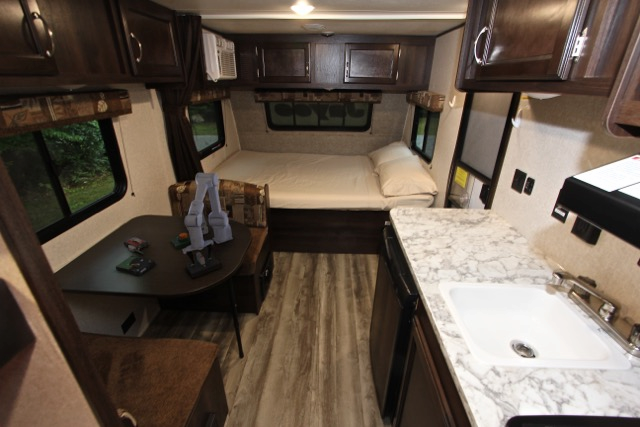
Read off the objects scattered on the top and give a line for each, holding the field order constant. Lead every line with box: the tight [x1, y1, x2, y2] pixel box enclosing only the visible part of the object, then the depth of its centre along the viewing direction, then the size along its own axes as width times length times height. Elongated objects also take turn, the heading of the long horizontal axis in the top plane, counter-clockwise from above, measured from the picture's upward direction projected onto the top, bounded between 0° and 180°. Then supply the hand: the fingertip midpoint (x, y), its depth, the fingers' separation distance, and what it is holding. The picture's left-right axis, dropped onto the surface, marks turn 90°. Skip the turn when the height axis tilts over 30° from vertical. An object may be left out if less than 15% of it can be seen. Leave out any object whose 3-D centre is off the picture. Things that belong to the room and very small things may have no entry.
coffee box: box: [188, 207, 209, 235], centre depth 179 cm, size 9×6×16 cm
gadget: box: [184, 254, 222, 279], centre depth 148 cm, size 14×12×3 cm
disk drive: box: [114, 255, 156, 277], centre depth 147 cm, size 10×3×15 cm
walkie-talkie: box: [123, 236, 149, 255], centre depth 163 cm, size 9×4×20 cm
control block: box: [170, 233, 192, 250], centre depth 170 cm, size 12×10×4 cm
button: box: [178, 232, 188, 239], centre depth 169 cm, size 4×4×2 cm
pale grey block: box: [195, 251, 205, 265], centre depth 147 cm, size 6×2×4 cm, turn 40°
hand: (201, 260), depth 148 cm, fingers open, 7 cm apart
